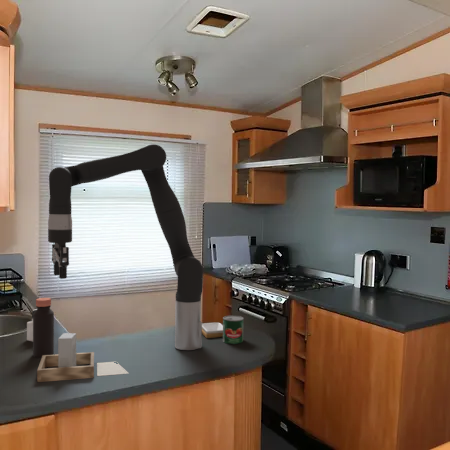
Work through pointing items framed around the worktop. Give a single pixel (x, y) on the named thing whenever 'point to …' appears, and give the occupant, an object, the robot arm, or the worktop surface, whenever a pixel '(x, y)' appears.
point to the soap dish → (212, 330)
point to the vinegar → (43, 328)
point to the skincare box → (67, 350)
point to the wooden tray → (65, 368)
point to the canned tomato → (233, 329)
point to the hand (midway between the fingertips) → (60, 276)
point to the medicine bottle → (30, 328)
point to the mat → (110, 369)
